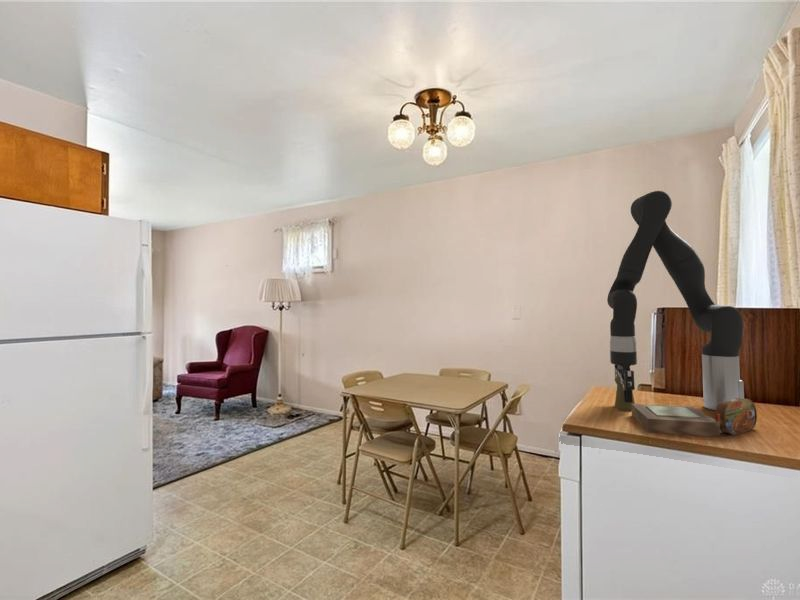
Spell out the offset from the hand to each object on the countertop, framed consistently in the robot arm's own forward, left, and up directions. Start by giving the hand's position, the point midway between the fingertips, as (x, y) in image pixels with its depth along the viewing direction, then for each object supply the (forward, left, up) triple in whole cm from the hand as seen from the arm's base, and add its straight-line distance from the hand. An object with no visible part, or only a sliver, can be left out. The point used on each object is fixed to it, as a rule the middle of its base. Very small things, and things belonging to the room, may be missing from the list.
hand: (624, 398), depth 125 cm
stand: (-8, +16, -3) cm, 18 cm away
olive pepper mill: (0, 0, -3) cm, 3 cm away
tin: (-22, +18, -3) cm, 29 cm away
